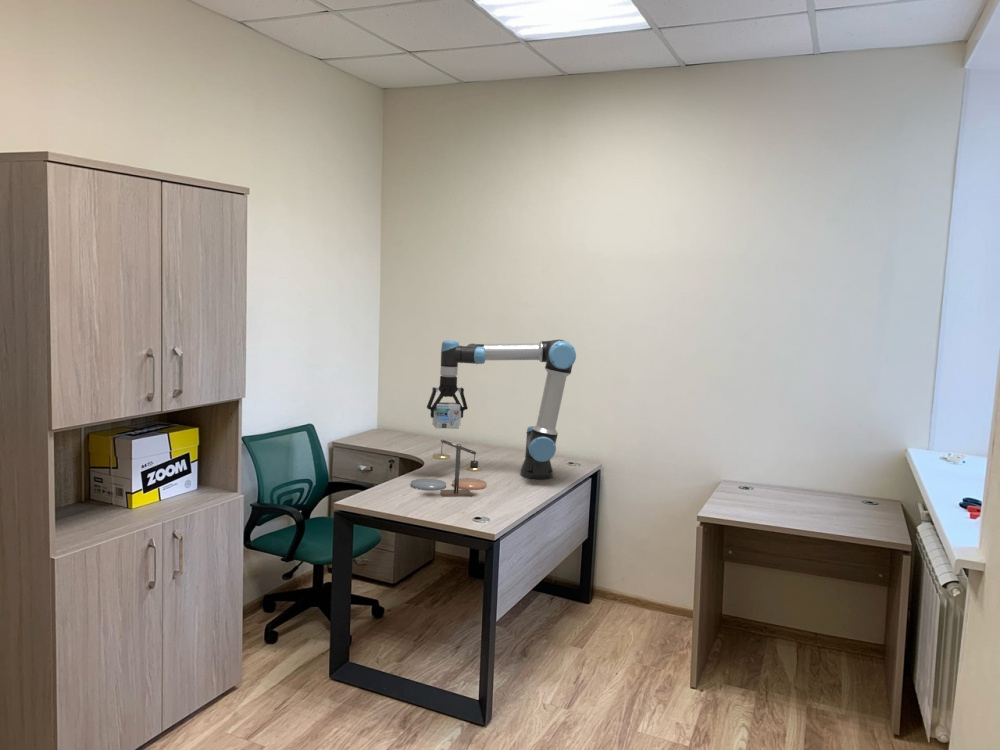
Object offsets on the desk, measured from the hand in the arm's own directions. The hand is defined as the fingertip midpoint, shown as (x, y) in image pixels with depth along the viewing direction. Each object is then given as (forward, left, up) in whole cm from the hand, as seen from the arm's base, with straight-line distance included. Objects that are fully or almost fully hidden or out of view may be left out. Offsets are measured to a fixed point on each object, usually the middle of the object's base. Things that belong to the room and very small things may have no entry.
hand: (446, 425), depth 340 cm
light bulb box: (0, 0, -1) cm, 1 cm away
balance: (0, +27, -24) cm, 36 cm away
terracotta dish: (-9, +13, -24) cm, 29 cm away
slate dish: (+9, +13, -24) cm, 29 cm away
